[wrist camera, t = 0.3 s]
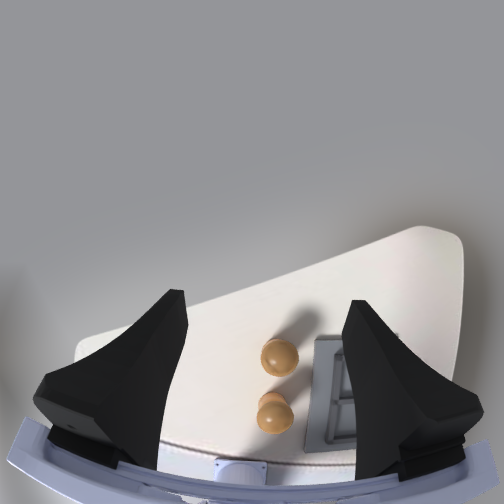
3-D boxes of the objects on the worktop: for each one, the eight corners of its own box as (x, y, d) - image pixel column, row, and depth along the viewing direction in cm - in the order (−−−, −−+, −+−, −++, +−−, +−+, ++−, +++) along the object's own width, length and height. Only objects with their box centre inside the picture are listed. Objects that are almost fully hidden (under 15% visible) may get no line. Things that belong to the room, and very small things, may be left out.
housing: (380, 442, 35) (386, 447, 33) (304, 450, 35) (307, 457, 33) (393, 338, 39) (401, 338, 37) (314, 339, 39) (318, 341, 37)
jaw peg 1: (290, 368, 38) (297, 376, 33) (258, 367, 38) (259, 375, 33) (292, 337, 39) (299, 340, 34) (260, 336, 39) (262, 339, 34)
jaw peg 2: (286, 419, 37) (292, 434, 31) (255, 418, 37) (255, 433, 31) (289, 390, 38) (295, 402, 32) (257, 389, 38) (258, 401, 32)
